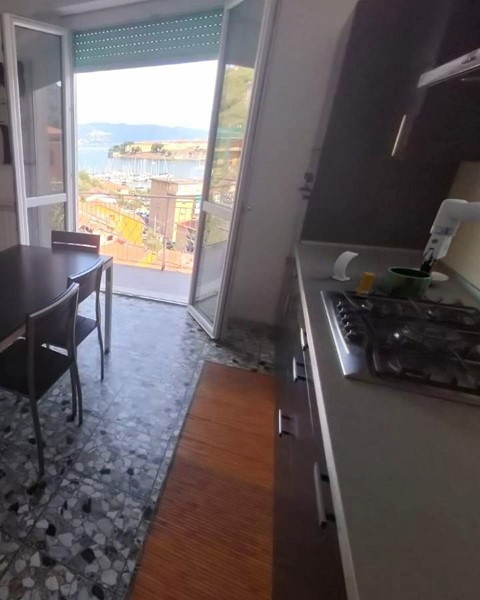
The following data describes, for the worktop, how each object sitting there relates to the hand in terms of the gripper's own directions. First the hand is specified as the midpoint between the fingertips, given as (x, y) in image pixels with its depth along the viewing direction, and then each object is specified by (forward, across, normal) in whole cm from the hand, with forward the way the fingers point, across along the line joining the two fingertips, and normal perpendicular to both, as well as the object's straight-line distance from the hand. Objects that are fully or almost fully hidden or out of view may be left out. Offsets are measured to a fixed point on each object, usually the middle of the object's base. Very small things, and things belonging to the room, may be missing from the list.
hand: (425, 272), depth 153 cm
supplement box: (+5, -40, +6) cm, 41 cm away
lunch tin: (+5, -20, 0) cm, 21 cm away
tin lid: (+1, 0, 0) cm, 1 cm away
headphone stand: (+5, -25, +21) cm, 33 cm away
